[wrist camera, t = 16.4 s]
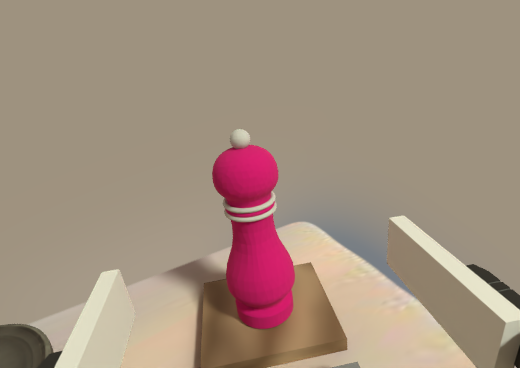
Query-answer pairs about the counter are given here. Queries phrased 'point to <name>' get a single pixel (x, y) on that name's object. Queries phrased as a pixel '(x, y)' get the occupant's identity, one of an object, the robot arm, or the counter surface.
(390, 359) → the counter surface
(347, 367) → the holder
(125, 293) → the robot arm
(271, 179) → the pepper mill
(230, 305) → the board
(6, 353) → the coffee can
